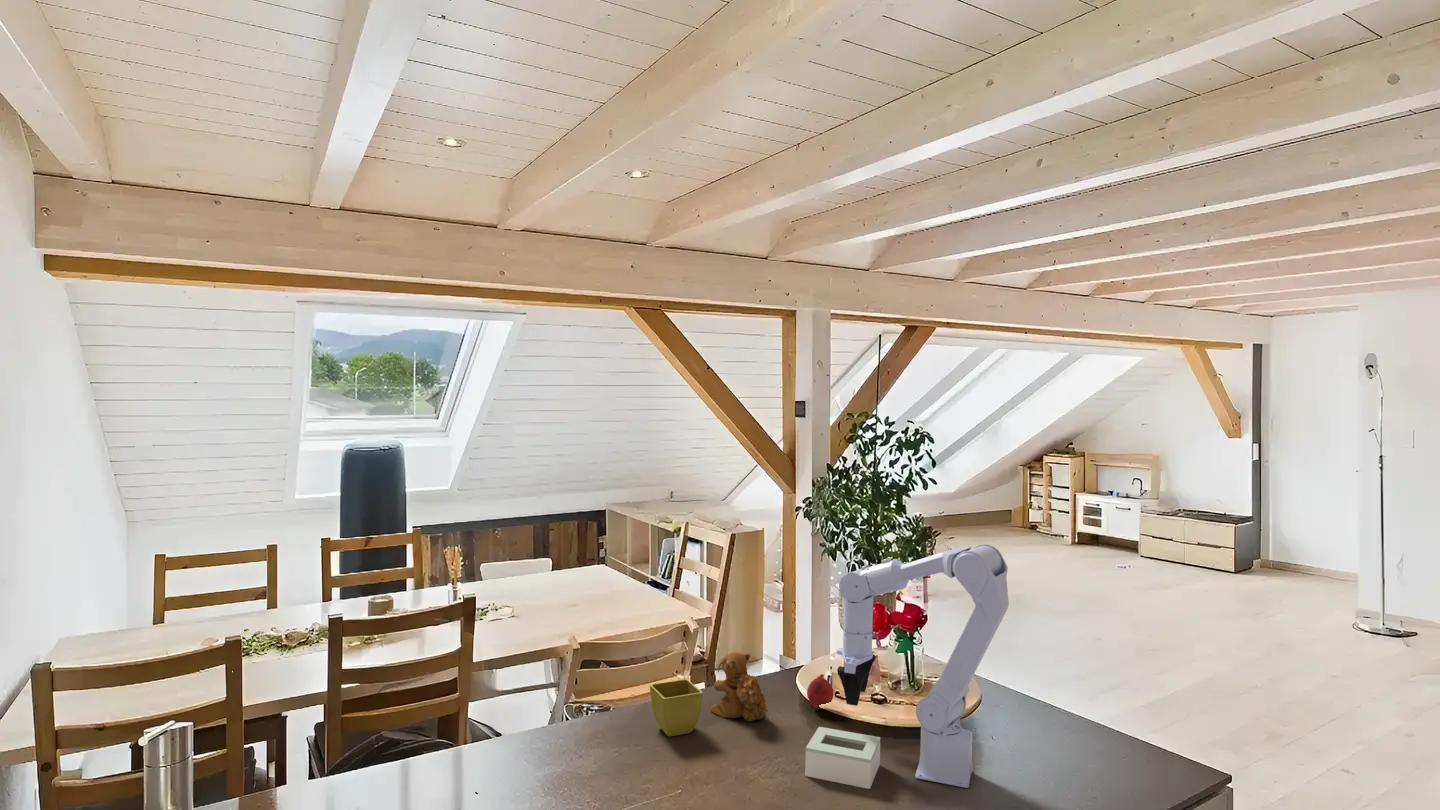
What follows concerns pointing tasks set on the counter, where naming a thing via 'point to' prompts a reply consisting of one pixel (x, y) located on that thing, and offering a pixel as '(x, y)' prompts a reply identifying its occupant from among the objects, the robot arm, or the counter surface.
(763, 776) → the counter surface
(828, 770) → the box
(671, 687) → the flower pot
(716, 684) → the stuffed squirrel
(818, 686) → the onion
